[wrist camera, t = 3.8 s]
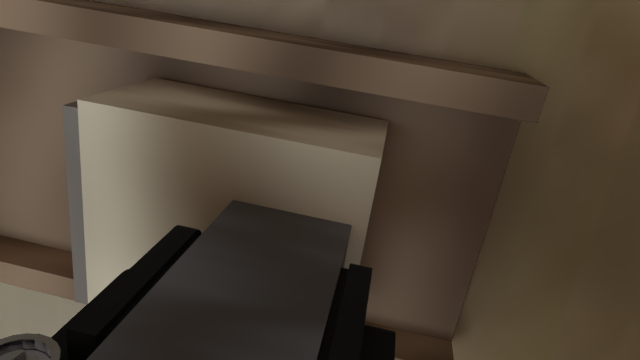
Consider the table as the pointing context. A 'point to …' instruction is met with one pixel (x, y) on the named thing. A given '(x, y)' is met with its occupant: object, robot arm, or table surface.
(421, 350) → the press bed
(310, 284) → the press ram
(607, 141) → the table surface
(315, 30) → the table surface
